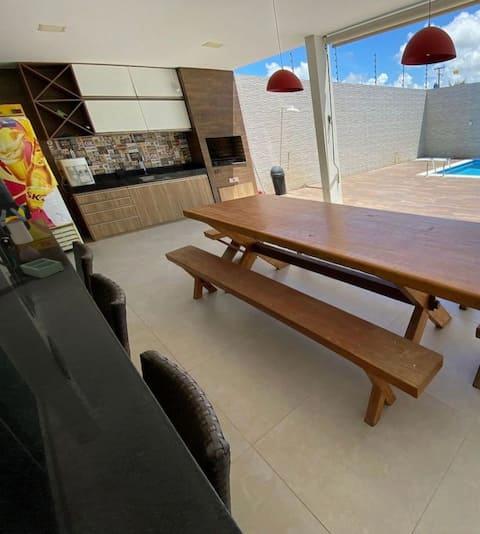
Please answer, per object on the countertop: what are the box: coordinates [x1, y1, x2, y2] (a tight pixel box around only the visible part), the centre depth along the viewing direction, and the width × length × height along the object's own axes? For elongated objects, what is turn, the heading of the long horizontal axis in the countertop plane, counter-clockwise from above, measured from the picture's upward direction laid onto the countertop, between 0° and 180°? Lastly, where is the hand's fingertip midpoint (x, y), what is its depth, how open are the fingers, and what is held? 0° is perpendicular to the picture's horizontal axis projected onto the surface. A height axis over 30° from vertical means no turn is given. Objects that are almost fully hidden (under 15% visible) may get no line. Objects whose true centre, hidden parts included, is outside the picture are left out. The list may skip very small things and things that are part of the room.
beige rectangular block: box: [5, 219, 34, 245], centre depth 130 cm, size 6×6×9 cm
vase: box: [19, 245, 42, 263], centre depth 149 cm, size 7×7×9 cm
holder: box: [19, 257, 66, 279], centre depth 139 cm, size 8×16×4 cm, turn 66°
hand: (18, 232), depth 130 cm, fingers closed on beige rectangular block, 5 cm apart
